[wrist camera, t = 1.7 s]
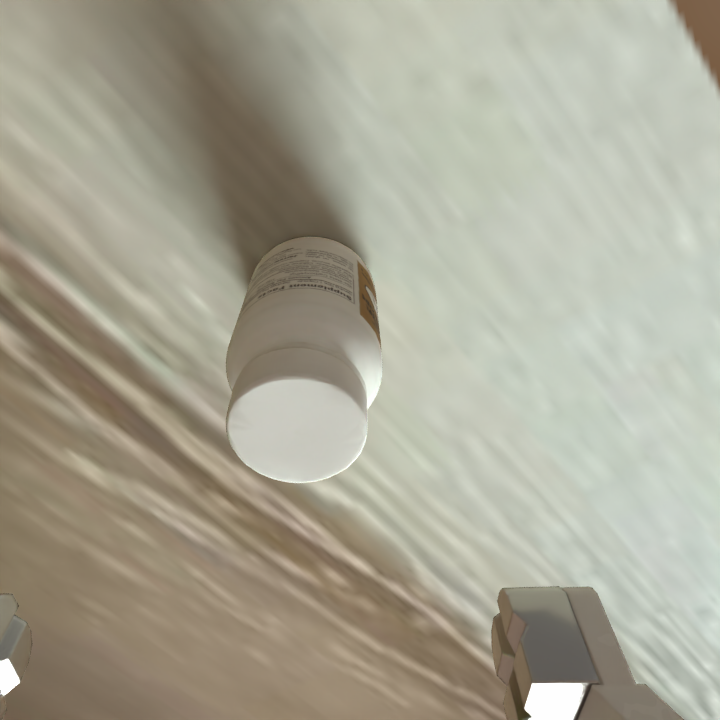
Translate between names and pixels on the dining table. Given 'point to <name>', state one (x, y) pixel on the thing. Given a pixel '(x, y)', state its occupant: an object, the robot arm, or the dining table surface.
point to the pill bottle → (304, 362)
